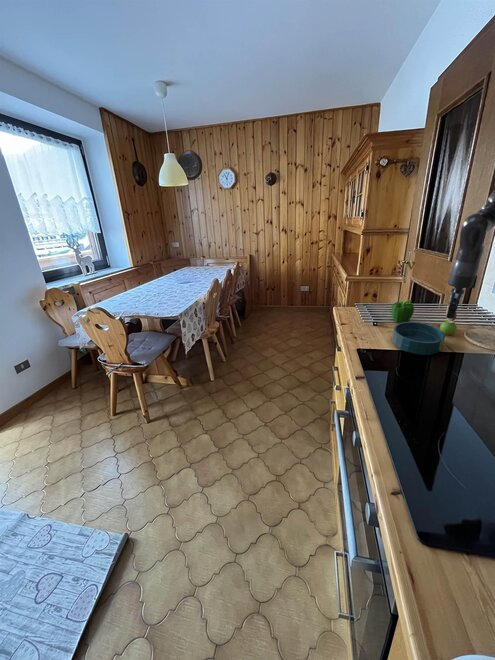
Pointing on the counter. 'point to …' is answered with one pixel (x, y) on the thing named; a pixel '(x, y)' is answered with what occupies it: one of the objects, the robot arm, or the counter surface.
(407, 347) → the bowl
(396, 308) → the bell pepper
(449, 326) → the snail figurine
